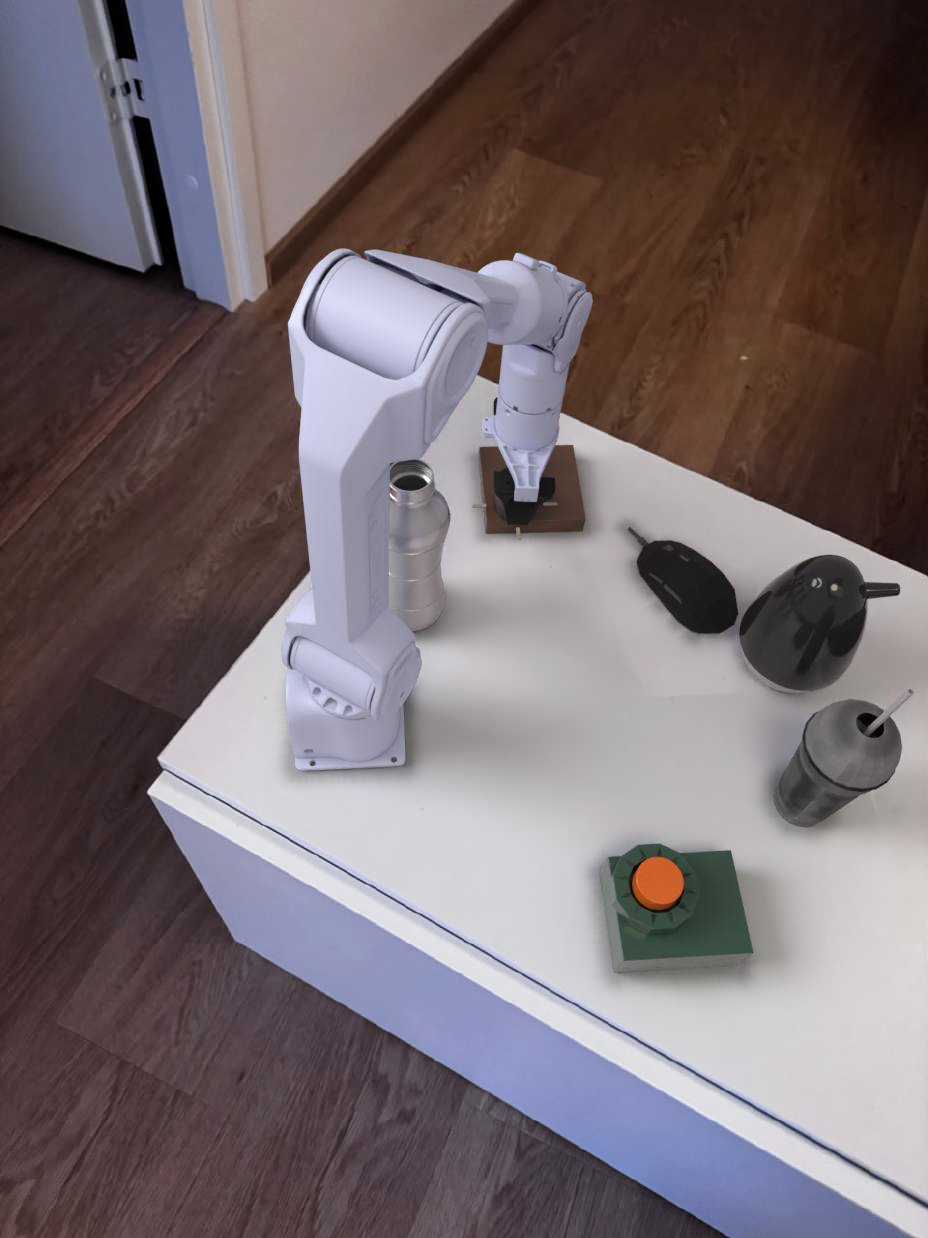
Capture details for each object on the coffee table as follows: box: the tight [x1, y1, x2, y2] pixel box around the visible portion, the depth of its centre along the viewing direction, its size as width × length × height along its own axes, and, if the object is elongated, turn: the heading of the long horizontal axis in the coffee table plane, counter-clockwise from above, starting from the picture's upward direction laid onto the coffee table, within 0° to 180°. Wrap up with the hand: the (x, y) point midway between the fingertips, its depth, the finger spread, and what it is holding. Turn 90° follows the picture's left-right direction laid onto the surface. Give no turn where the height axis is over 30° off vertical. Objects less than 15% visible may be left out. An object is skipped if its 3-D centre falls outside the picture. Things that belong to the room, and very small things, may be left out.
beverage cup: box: [773, 687, 915, 828], centre depth 76 cm, size 7×7×20 cm
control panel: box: [472, 444, 587, 541], centre depth 100 cm, size 11×12×2 cm
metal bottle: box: [389, 458, 451, 633], centre depth 85 cm, size 6×7×20 cm
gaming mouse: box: [627, 526, 739, 635], centre depth 95 cm, size 6×15×4 cm, turn 34°
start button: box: [632, 857, 684, 910], centre depth 73 cm, size 4×4×2 cm
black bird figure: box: [738, 554, 901, 694], centre depth 85 cm, size 10×10×15 cm
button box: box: [599, 843, 754, 974], centre depth 76 cm, size 10×8×6 cm
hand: (516, 491), depth 96 cm, fingers open, 7 cm apart
